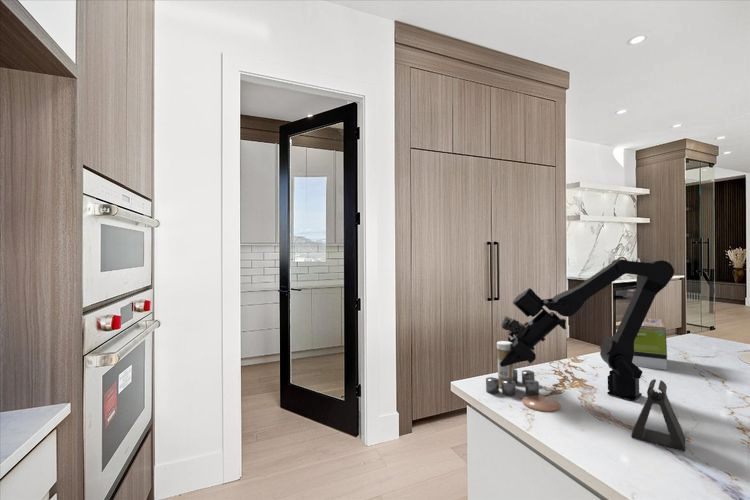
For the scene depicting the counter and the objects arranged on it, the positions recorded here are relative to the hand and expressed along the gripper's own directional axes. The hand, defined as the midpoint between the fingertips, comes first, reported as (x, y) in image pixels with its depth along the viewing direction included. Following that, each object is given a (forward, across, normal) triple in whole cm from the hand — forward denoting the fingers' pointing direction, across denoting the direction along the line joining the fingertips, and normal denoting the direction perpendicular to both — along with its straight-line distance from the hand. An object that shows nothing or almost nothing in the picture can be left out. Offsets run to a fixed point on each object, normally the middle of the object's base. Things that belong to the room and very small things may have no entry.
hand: (500, 363), depth 110 cm
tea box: (-32, -34, +42) cm, 63 cm away
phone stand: (-16, +24, +27) cm, 40 cm away
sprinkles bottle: (+4, 0, +6) cm, 7 cm away
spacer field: (+2, +1, +8) cm, 8 cm away
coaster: (-2, +11, +12) cm, 16 cm away
